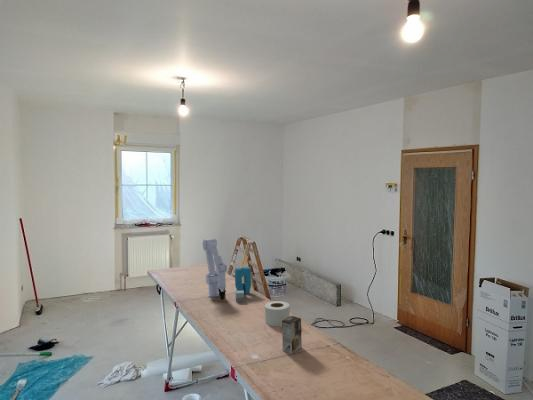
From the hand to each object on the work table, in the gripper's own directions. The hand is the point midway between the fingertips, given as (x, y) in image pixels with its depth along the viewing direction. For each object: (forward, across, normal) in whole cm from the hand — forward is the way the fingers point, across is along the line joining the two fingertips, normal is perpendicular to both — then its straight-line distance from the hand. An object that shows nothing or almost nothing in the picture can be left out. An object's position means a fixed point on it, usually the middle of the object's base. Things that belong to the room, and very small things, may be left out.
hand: (222, 298), depth 288 cm
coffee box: (+2, +91, +32) cm, 96 cm away
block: (+2, -14, +17) cm, 22 cm away
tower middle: (-2, +4, +13) cm, 14 cm away
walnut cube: (+1, 0, 0) cm, 1 cm away
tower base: (+2, +4, +13) cm, 14 cm away
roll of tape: (+2, +51, +32) cm, 60 cm away
